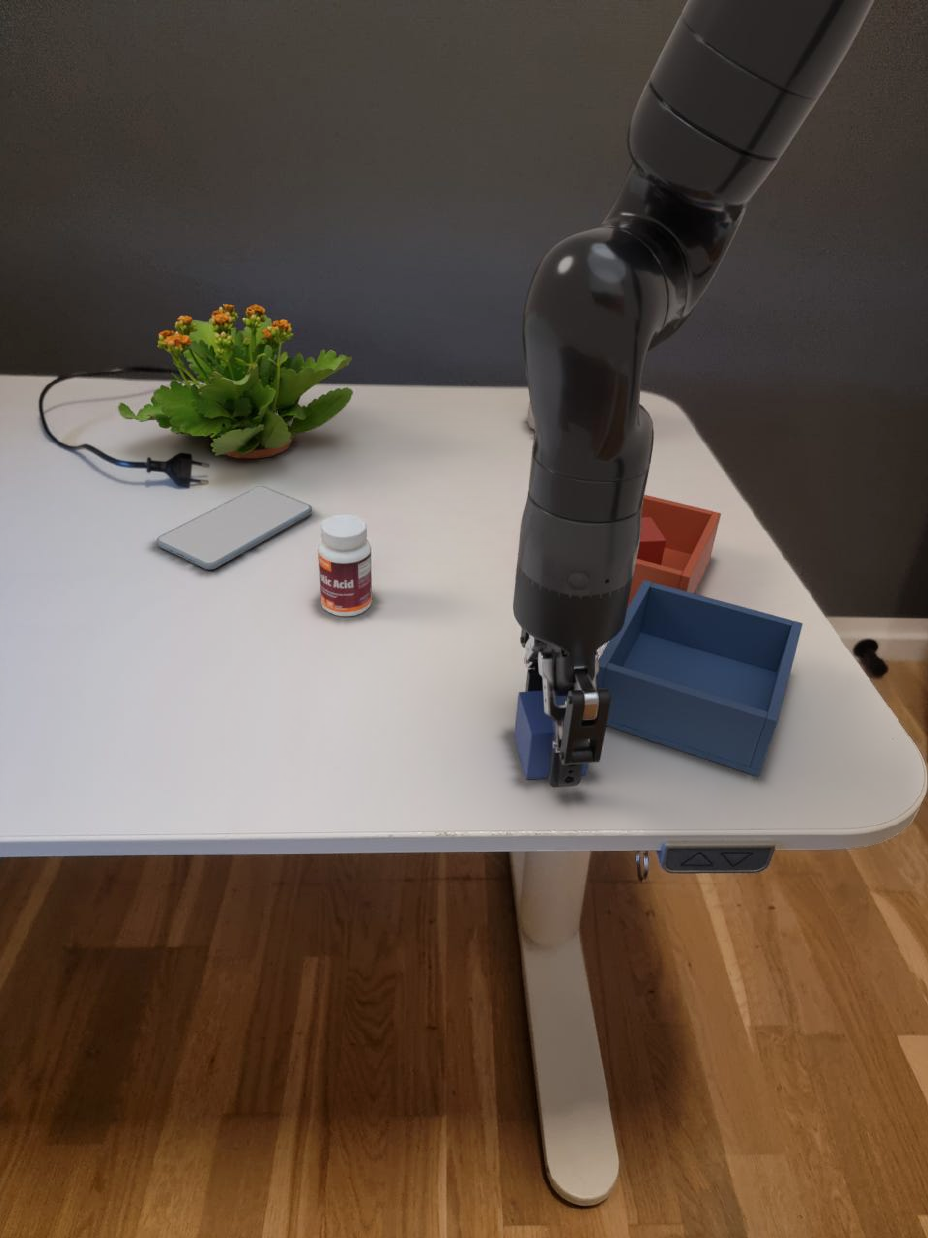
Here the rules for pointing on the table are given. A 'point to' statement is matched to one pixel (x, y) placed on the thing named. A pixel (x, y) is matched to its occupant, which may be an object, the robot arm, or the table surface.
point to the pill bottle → (345, 565)
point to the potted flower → (241, 385)
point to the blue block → (535, 734)
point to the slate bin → (699, 675)
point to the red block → (651, 542)
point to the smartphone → (233, 527)
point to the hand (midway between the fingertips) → (549, 743)
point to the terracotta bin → (678, 545)
